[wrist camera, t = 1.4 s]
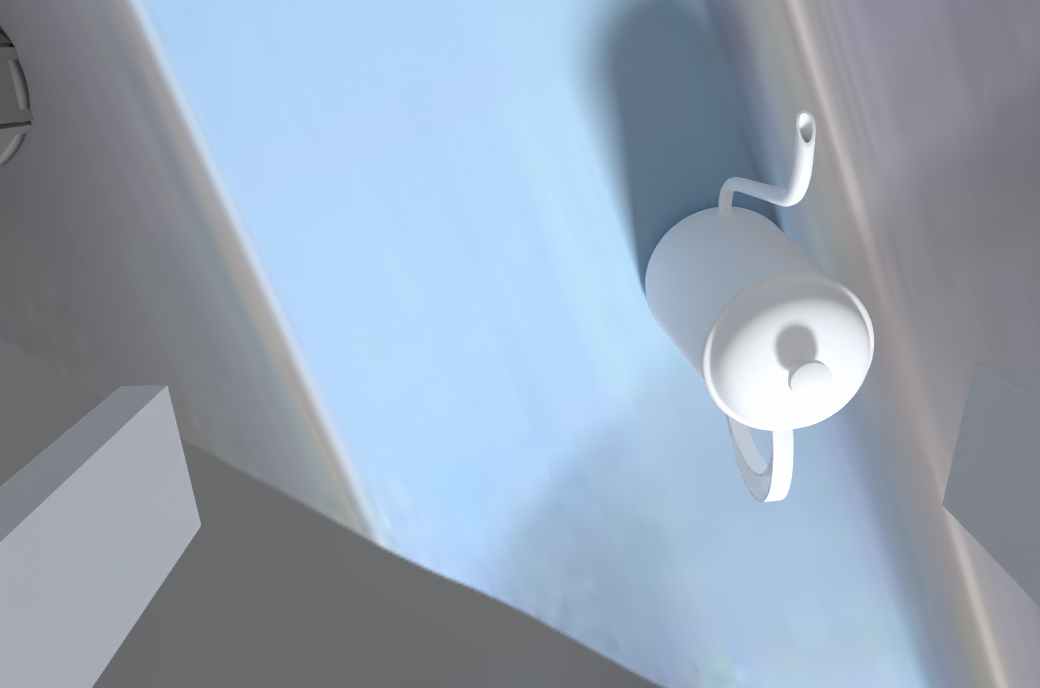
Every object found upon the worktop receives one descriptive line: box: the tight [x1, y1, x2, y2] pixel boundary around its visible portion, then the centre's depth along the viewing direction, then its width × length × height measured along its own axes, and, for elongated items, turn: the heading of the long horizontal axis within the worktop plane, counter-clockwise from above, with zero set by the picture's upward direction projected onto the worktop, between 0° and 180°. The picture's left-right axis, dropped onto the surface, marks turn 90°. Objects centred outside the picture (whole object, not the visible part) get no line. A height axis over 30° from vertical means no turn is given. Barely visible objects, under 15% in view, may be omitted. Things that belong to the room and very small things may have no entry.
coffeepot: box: [645, 110, 874, 502], centre depth 44 cm, size 11×25×19 cm, turn 7°
